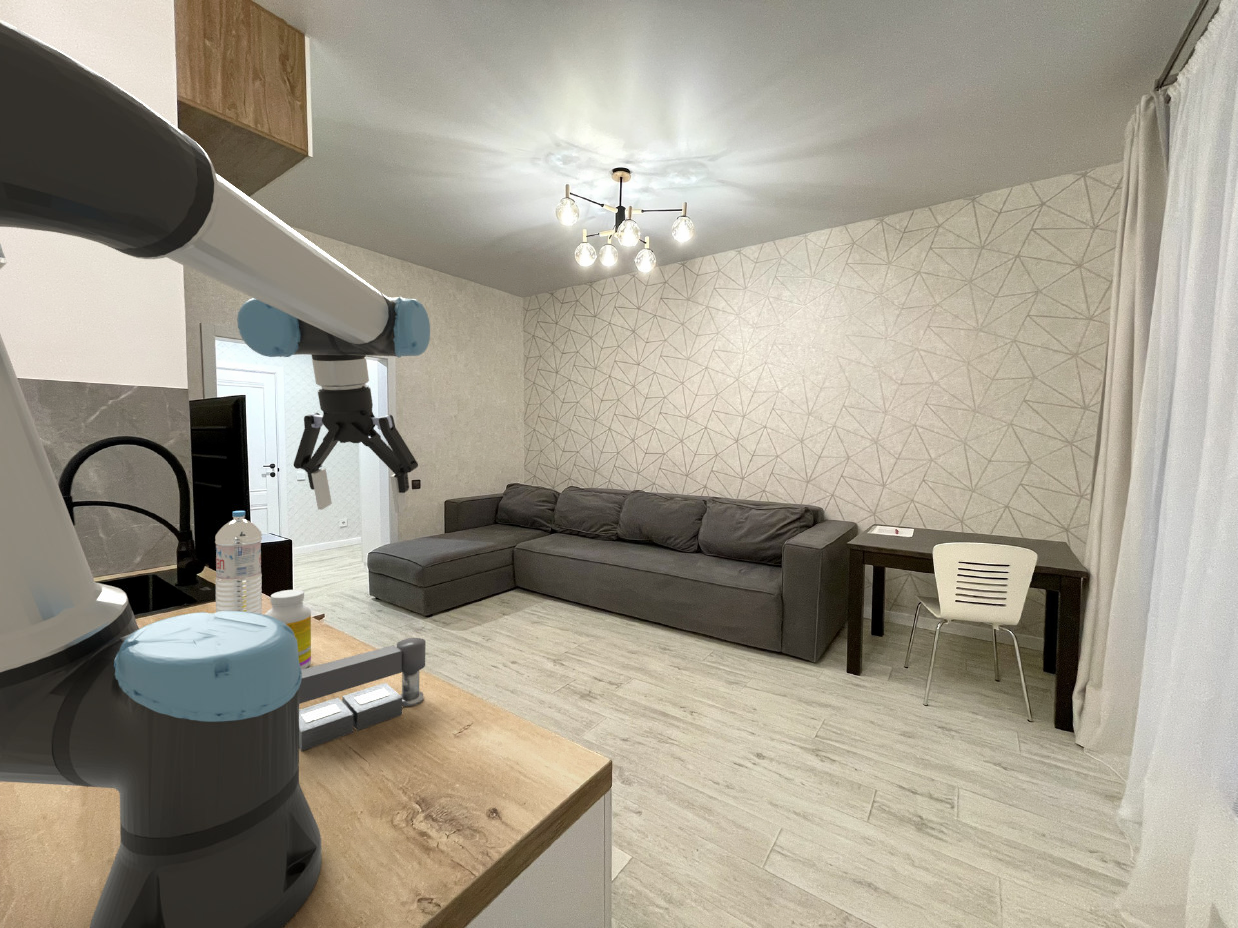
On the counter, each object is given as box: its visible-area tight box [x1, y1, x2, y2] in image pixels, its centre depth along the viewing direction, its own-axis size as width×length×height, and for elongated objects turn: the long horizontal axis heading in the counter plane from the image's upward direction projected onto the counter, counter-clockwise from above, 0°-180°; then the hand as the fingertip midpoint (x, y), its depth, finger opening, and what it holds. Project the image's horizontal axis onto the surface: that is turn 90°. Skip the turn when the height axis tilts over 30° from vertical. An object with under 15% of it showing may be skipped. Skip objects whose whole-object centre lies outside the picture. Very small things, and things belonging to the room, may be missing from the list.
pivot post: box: [399, 670, 424, 708], centre depth 75 cm, size 4×4×5 cm
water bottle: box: [214, 510, 263, 614], centre depth 93 cm, size 7×7×25 cm
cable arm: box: [299, 637, 427, 705], centre depth 71 cm, size 17×4×4 cm, turn 136°
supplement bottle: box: [264, 589, 312, 670], centre depth 84 cm, size 7×7×13 cm
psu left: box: [299, 696, 354, 752], centre depth 67 cm, size 6×6×3 cm
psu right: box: [341, 682, 403, 732], centre depth 72 cm, size 6×6×3 cm
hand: (363, 508), depth 87 cm, fingers open, 13 cm apart
